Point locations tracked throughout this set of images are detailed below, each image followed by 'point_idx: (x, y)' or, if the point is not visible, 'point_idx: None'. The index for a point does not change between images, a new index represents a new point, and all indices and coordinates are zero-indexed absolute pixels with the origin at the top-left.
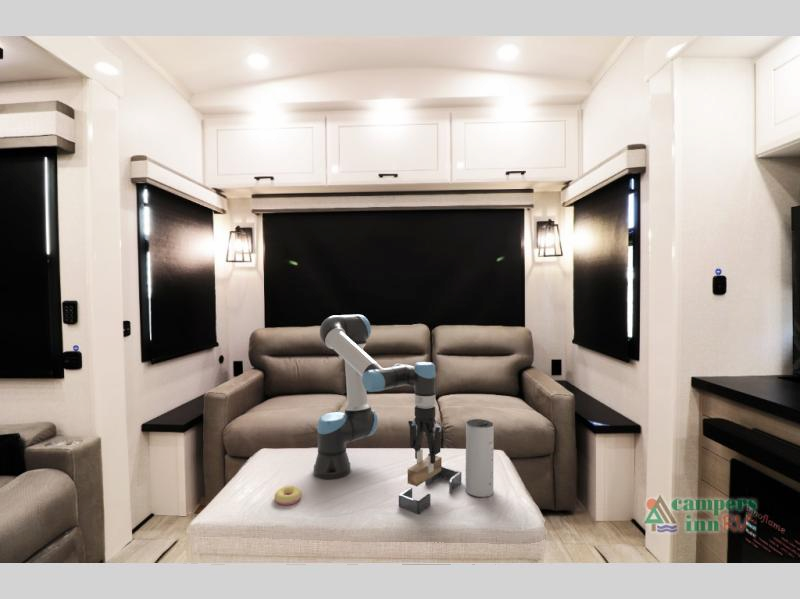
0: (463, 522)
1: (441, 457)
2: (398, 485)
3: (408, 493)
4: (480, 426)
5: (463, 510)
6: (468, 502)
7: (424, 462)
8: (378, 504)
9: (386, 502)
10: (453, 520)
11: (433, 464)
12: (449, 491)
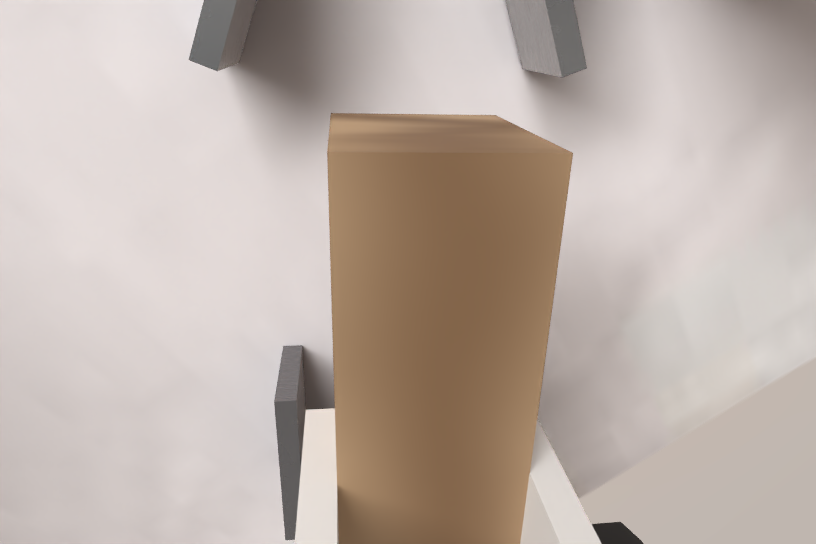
0: (751, 365)
1: (572, 154)
2: (28, 242)
3: (300, 430)
4: None
5: (718, 246)
6: (727, 114)
7: (413, 522)
8: (163, 532)
9: (185, 487)
10: (687, 384)
11: (560, 466)
12: (527, 67)
